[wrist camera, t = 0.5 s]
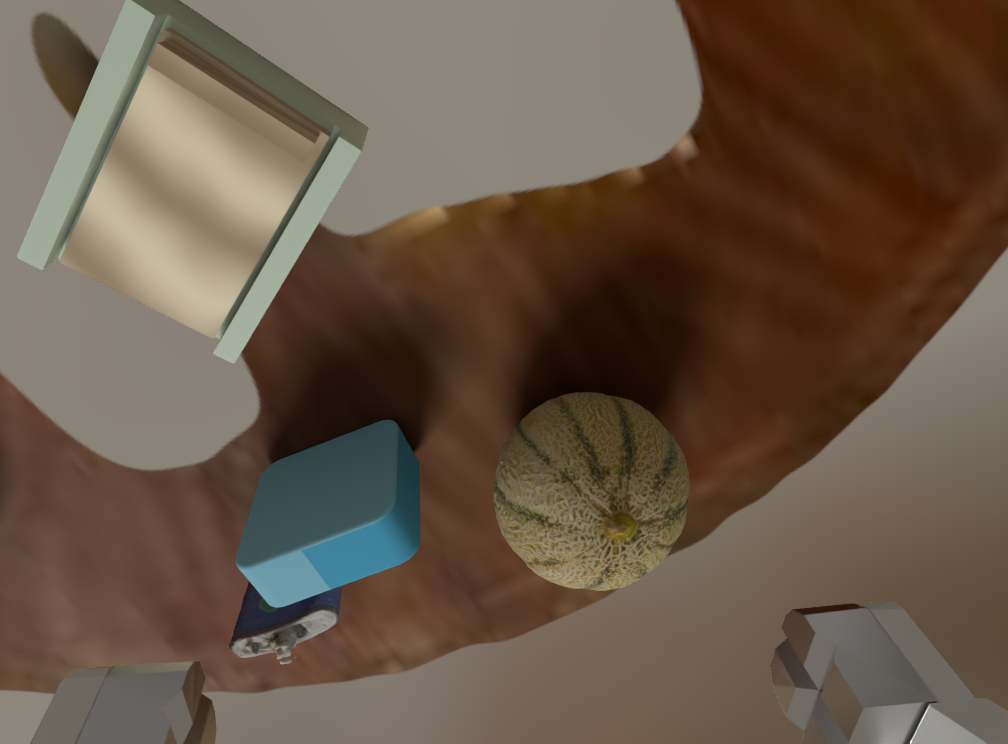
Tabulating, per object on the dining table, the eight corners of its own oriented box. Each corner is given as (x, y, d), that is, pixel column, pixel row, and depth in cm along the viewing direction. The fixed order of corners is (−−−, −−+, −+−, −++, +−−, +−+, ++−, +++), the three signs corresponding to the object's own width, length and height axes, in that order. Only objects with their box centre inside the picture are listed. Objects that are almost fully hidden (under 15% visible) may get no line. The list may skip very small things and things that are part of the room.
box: (170, -6, 40) (126, -3, 34) (368, 127, 45) (361, 151, 39) (69, 220, 45) (16, 257, 39) (255, 317, 50) (234, 364, 44)
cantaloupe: (524, 524, 63) (553, 666, 50) (454, 403, 56) (467, 532, 43) (676, 462, 61) (747, 591, 48) (625, 329, 54) (692, 439, 41)
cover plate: (171, 27, 36) (148, 32, 33) (331, 132, 40) (325, 146, 37) (67, 255, 41) (39, 277, 38) (217, 330, 45) (203, 356, 42)
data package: (290, 503, 59) (264, 615, 48) (262, 464, 57) (228, 573, 46) (420, 454, 58) (421, 558, 47) (397, 413, 56) (393, 512, 45)
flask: (340, 525, 61) (327, 625, 51) (355, 547, 62) (345, 648, 53) (245, 561, 61) (216, 665, 52) (263, 582, 63) (237, 687, 54)
